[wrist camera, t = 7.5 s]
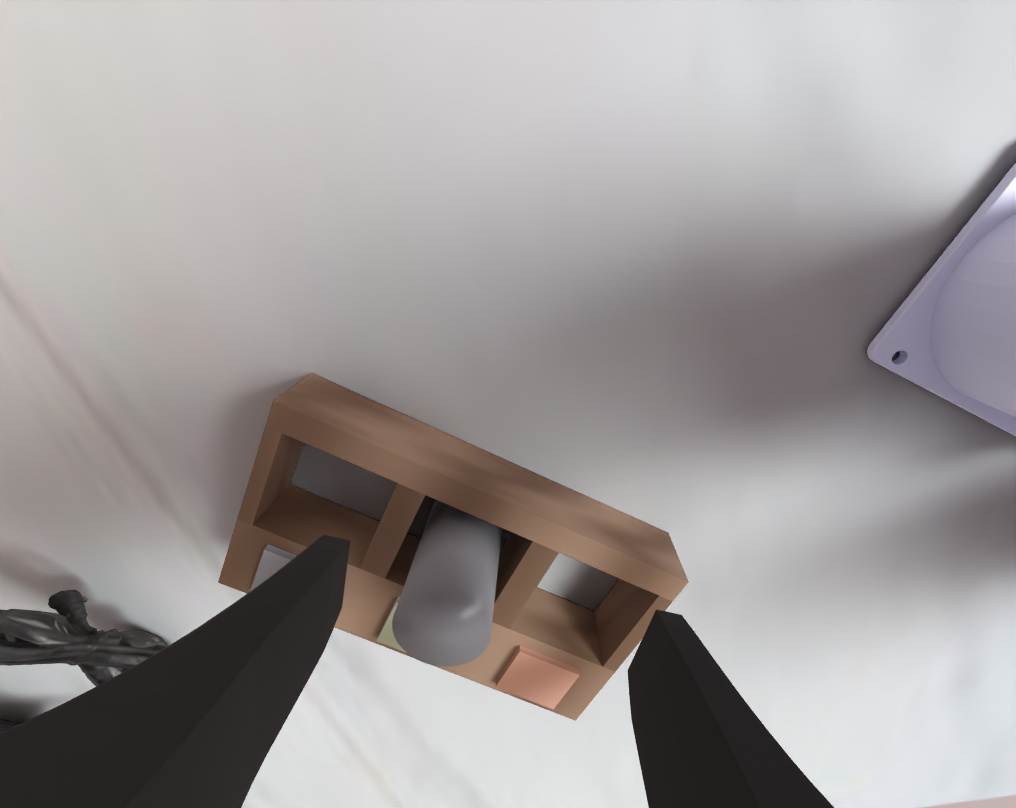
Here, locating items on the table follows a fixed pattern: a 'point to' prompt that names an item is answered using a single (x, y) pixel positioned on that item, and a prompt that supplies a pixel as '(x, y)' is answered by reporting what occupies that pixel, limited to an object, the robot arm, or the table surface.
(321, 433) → the socket block
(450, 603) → the peg
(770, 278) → the table surface
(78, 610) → the headset
